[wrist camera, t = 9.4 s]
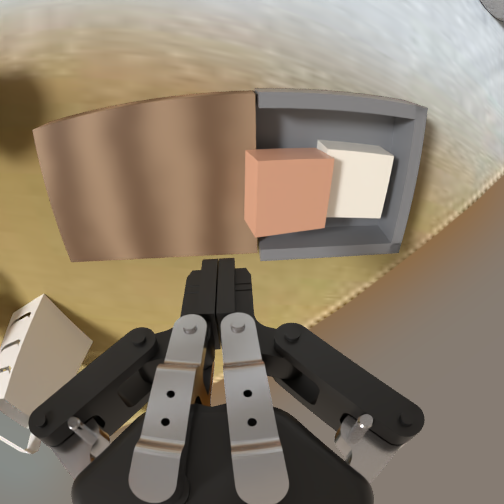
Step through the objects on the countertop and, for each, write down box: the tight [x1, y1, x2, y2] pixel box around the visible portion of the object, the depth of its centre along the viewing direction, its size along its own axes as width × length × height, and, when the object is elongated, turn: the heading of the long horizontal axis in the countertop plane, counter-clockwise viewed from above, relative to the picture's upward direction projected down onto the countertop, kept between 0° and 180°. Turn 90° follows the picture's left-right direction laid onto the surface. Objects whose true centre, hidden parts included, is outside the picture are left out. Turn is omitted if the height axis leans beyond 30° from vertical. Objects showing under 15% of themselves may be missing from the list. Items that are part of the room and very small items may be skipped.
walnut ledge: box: [33, 91, 257, 262], centre depth 25 cm, size 19×14×3 cm
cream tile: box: [317, 140, 394, 218], centre depth 25 cm, size 6×6×3 cm
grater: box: [0, 294, 93, 454], centre depth 29 cm, size 10×10×20 cm
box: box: [255, 88, 428, 261], centre depth 25 cm, size 14×14×4 cm
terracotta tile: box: [244, 148, 335, 238], centre depth 23 cm, size 6×6×3 cm
